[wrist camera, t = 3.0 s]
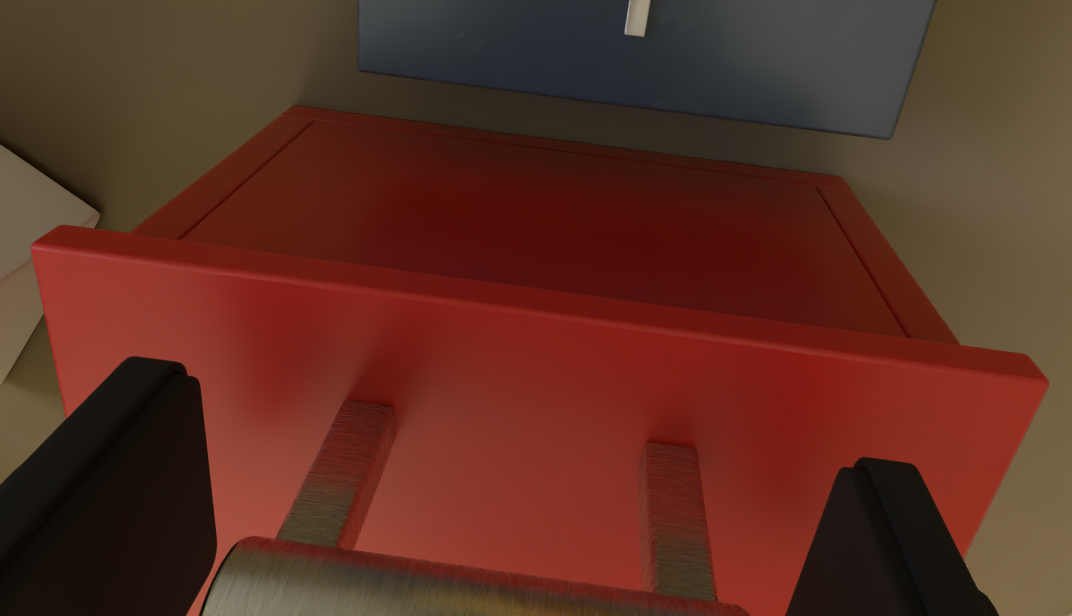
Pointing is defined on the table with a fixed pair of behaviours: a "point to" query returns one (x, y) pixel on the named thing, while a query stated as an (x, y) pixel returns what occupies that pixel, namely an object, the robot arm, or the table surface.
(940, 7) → the table surface
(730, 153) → the table surface
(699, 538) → the red box lid
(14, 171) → the milk carton
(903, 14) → the valve panel
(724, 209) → the red box
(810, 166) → the table surface
